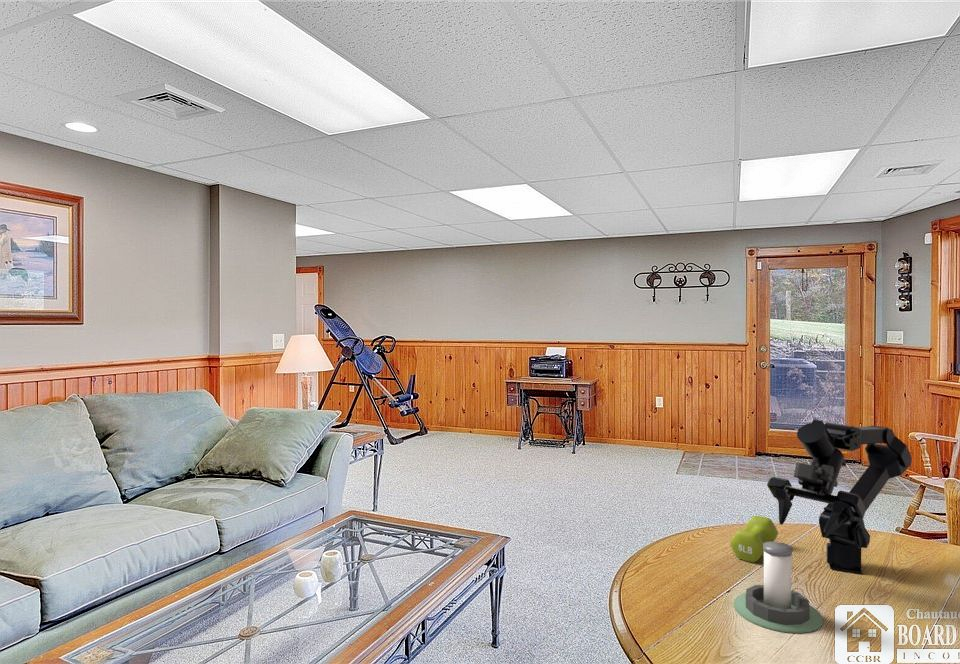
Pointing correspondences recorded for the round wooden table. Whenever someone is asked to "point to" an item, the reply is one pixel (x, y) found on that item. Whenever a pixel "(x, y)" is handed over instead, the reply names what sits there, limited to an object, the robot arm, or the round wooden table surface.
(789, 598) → the white gray-capped cylinder
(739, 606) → the green round disc
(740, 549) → the dumbbell
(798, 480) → the robot arm
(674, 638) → the round wooden table surface
